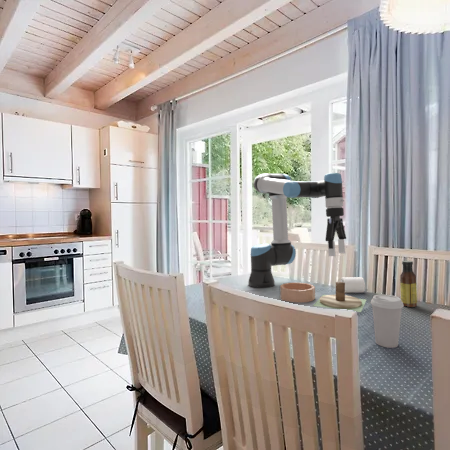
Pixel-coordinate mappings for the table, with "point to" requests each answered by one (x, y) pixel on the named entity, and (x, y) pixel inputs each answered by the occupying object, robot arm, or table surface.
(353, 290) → the mug
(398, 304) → the coffee cup
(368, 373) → the table surface
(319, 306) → the mat
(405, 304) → the sauce bottle
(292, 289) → the bowl
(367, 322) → the table surface
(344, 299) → the lid
